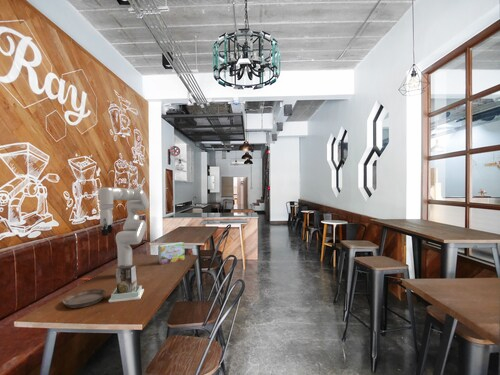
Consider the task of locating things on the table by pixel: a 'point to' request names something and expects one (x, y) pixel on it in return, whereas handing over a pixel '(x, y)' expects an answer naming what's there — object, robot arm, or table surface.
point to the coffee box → (126, 279)
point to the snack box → (170, 253)
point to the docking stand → (126, 295)
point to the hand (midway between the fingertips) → (107, 234)
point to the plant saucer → (84, 298)
